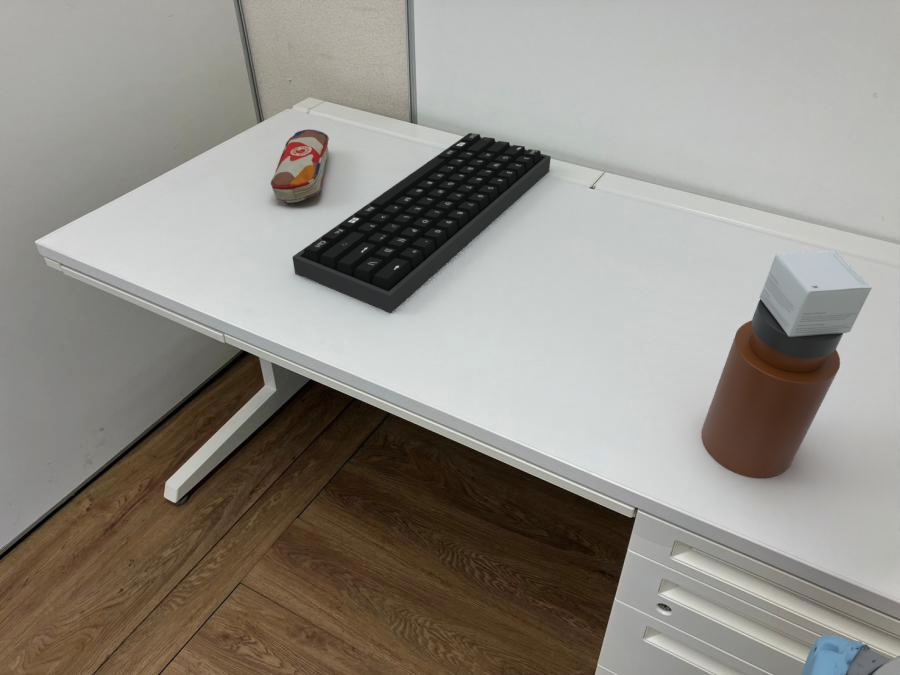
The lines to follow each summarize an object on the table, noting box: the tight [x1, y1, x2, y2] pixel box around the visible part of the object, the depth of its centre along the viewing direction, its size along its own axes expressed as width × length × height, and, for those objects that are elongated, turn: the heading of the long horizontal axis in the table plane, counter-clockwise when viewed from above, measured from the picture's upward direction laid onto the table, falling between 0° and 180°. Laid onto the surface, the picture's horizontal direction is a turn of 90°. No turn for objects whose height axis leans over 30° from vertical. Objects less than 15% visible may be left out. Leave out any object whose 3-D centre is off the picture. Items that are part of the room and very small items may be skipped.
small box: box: [759, 250, 873, 337], centre depth 59 cm, size 6×6×5 cm
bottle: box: [701, 298, 844, 479], centre depth 67 cm, size 9×9×17 cm
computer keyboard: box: [291, 132, 552, 314], centre depth 104 cm, size 45×16×4 cm, turn 148°
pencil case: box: [270, 128, 330, 204], centre depth 113 cm, size 11×20×5 cm, turn 167°
